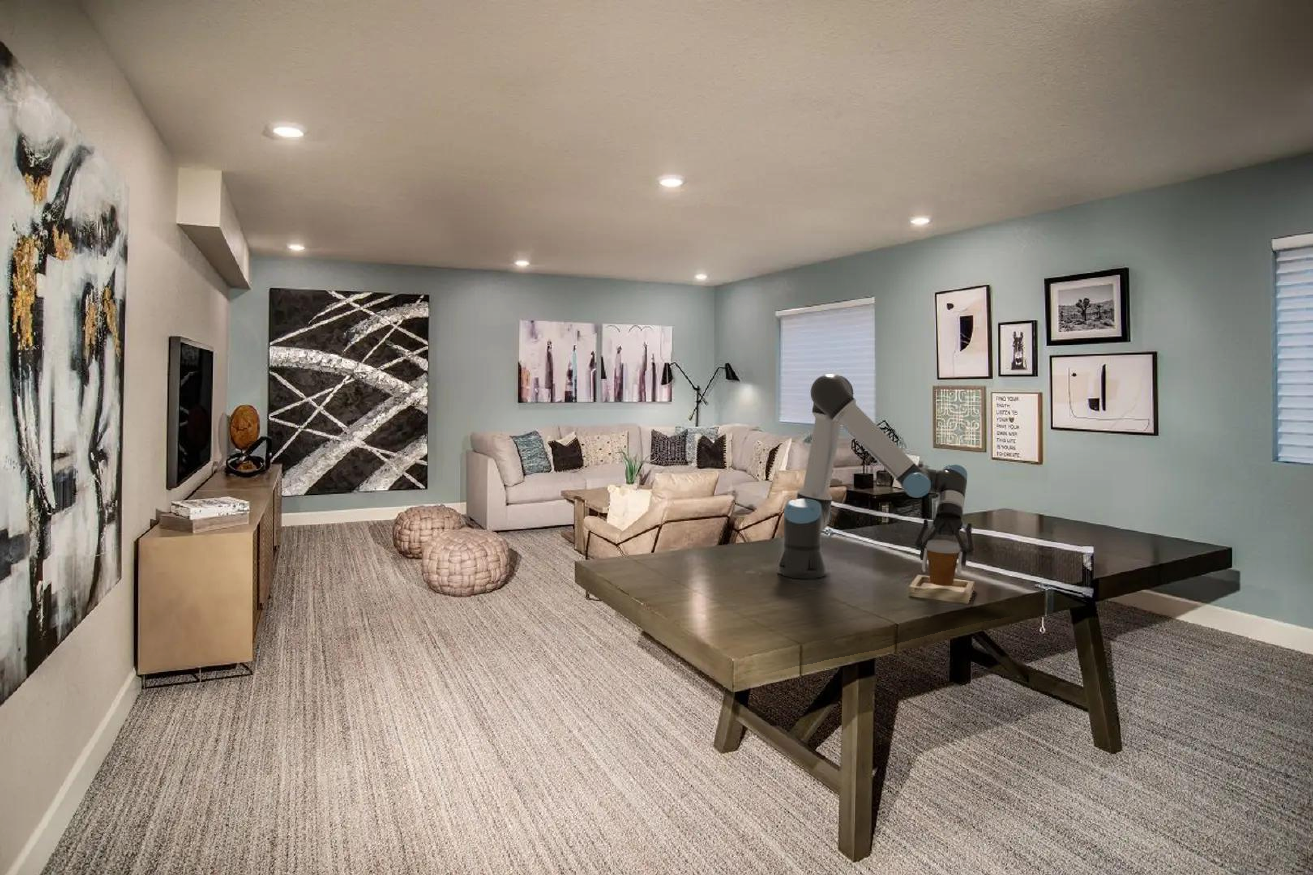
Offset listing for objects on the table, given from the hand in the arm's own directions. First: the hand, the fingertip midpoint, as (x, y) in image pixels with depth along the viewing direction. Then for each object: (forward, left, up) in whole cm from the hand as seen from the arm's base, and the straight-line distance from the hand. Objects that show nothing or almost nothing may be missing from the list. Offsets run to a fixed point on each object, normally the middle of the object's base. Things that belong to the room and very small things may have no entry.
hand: (940, 571), depth 214 cm
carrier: (0, +3, -7) cm, 8 cm away
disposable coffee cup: (0, +3, -4) cm, 5 cm away
